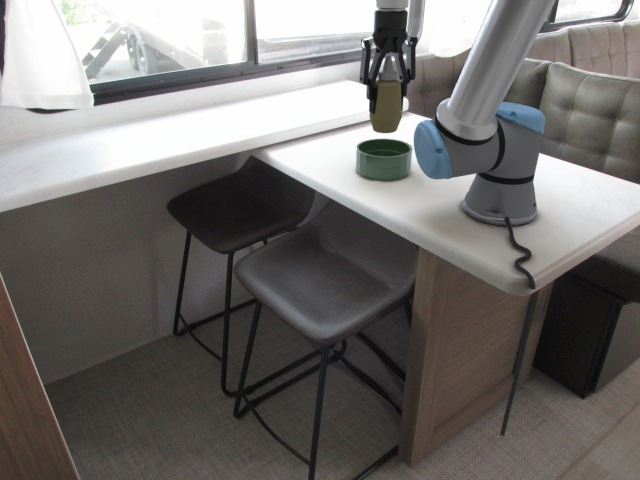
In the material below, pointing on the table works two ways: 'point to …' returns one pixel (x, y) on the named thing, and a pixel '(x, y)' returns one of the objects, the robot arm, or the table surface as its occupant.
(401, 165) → the bowl
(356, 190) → the table surface
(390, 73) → the squeeze bottle
